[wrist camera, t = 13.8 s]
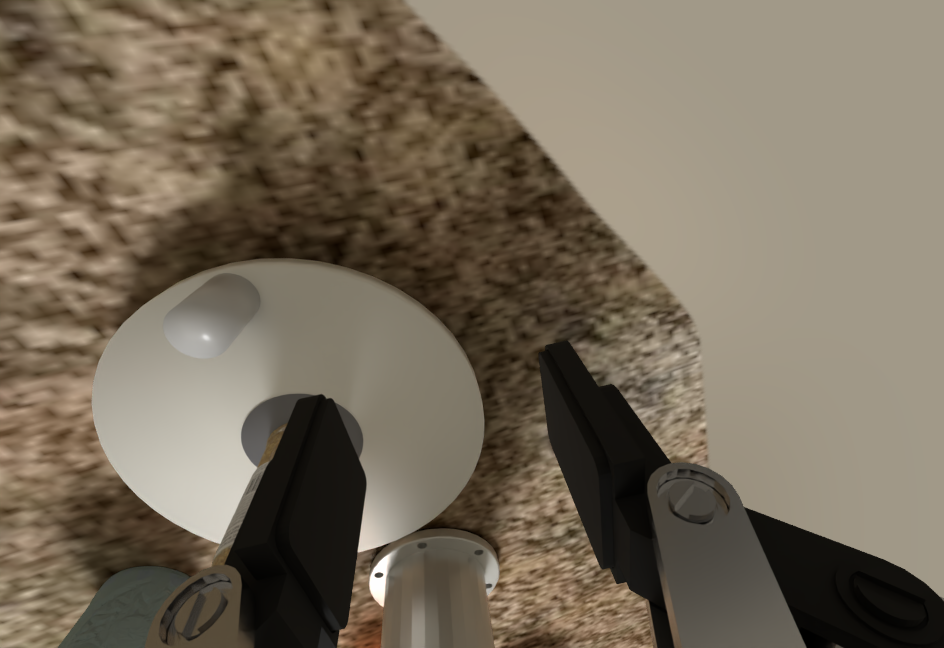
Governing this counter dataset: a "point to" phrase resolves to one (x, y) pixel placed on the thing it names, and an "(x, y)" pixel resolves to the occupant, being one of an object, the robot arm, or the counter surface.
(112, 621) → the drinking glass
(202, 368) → the turntable
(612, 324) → the counter surface
